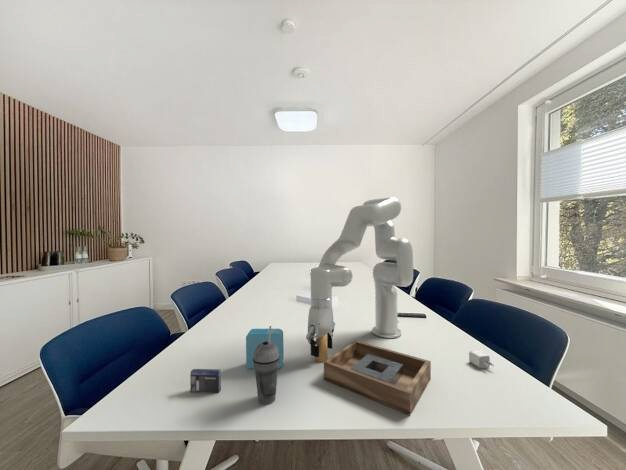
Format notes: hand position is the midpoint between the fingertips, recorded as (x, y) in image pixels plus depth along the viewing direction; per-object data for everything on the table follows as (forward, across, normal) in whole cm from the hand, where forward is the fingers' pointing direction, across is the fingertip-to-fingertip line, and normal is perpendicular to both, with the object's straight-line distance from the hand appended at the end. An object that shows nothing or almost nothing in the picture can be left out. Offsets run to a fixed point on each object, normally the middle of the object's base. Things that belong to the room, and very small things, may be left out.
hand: (321, 351), depth 93 cm
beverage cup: (+3, +27, +1) cm, 27 cm away
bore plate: (+3, 0, +21) cm, 21 cm away
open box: (+3, 0, +21) cm, 21 cm away
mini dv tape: (+3, +35, -16) cm, 39 cm away
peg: (+3, 0, 0) cm, 3 cm away
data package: (+3, +15, -13) cm, 20 cm away
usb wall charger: (+3, -28, +46) cm, 54 cm away
